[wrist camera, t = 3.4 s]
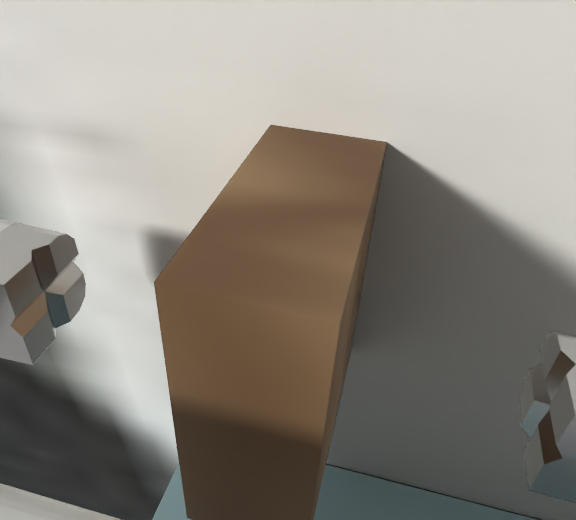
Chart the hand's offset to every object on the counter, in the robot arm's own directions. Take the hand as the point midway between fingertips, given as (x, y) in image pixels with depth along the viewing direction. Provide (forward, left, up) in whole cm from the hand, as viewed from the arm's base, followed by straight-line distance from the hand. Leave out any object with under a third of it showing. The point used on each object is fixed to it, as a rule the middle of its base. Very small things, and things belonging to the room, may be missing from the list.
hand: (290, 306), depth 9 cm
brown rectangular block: (0, 0, -2) cm, 2 cm away
